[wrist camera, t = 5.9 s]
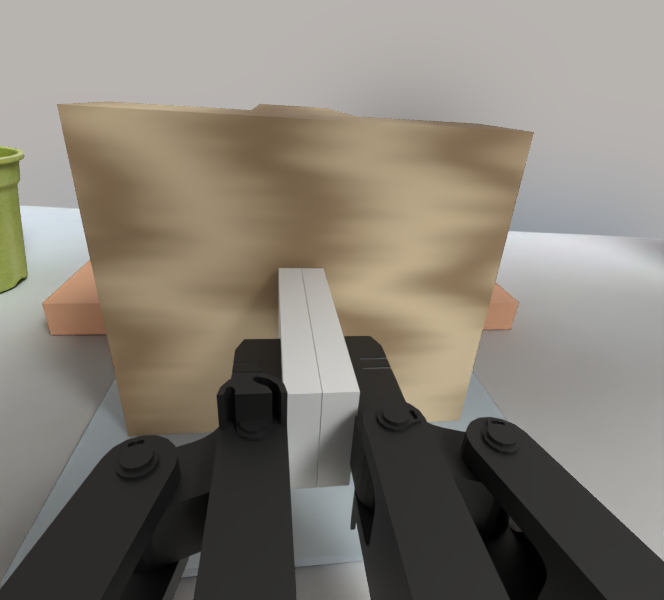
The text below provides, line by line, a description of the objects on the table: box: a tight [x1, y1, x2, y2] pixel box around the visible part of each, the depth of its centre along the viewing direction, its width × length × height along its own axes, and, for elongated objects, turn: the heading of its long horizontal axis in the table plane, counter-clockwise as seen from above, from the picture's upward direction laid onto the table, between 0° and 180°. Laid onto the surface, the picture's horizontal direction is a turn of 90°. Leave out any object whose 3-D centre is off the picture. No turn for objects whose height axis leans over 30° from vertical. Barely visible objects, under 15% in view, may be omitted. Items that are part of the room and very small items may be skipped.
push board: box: [0, 260, 519, 588], centre depth 26 cm, size 28×32×2 cm
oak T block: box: [57, 102, 534, 436], centre depth 21 cm, size 14×14×12 cm
